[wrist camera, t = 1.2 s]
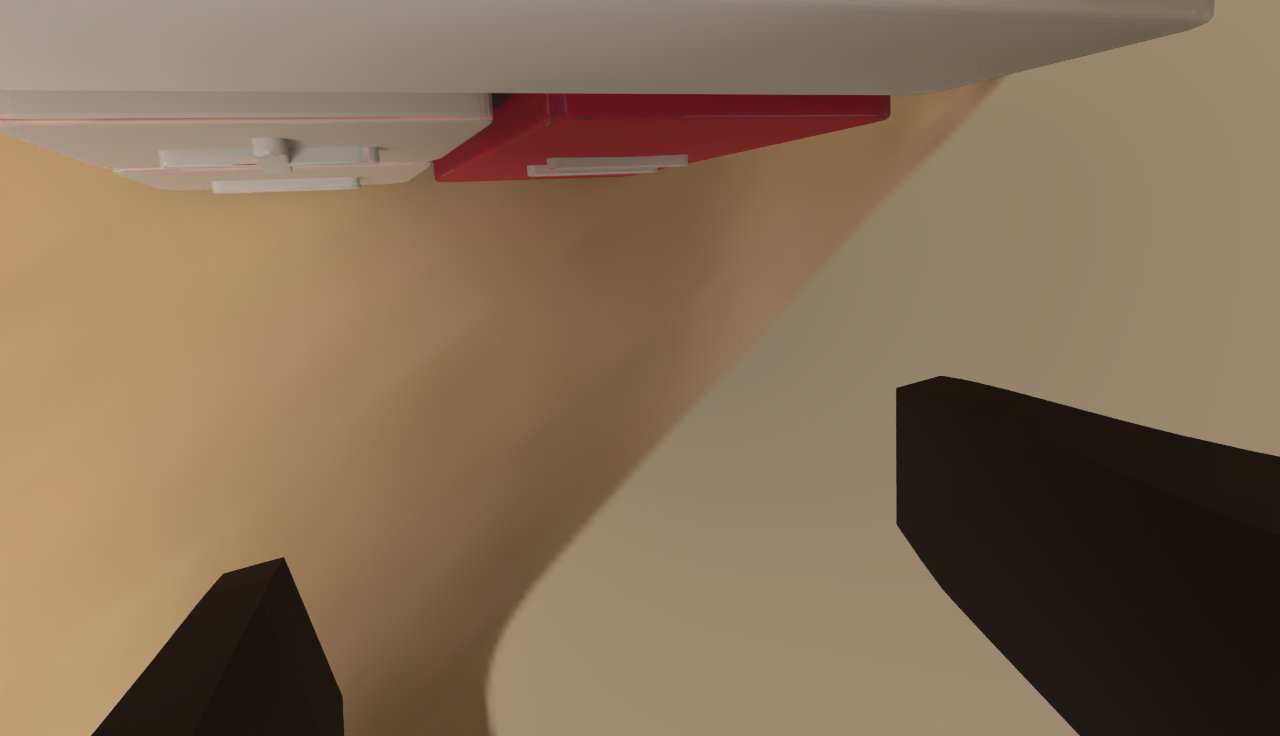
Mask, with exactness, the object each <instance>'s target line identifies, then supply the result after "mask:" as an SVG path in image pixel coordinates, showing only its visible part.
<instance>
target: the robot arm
mask: <svg viewBox="0 0 1280 736" xmlns="http://www.w3.org/2000/svg"><path fill="white" fill-rule="evenodd" d="M896 442H897V443H896V451H897V452H896V454H897V455H896V459H897V460H896V461H897V463H896V466H897V467H896V468H897V469H896V470H897V471H896V476H897V477H896V478H897V479H896V484H897V526H898V527H899V529H900V530H901V531H902V533H903V534H904V536H905V537H906V539H907V540H908V541H909V543H910V545H911V546H912V548H913V549H914V550H915V552H916V553H917V555H918V556H919V558H920V559H921V561H922V562H923V563H924V565H925V566H926V567H927V568H928V570H929V571H930V573H931V574H932V576H933V577H934V578H935V580H936V581H937V582H938V584H939V585H940V586H941V588H942V589H943V590H944V591H945V592H946V593H947V595H948V596H949V597H950V598H951V599H952V600H953V601H954V602H955V603H956V605H957V606H958V607H959V608H960V609H961V610H962V611H963V612H964V613H965V614H966V615H967V616H968V617H969V619H970V620H971V621H972V622H973V623H974V624H975V625H976V626H977V627H978V628H979V629H980V630H981V632H983V634H984V635H985V636H986V637H987V638H988V639H989V640H990V641H991V642H992V643H993V644H994V645H995V646H996V648H998V650H999V651H1000V652H1001V653H1002V654H1003V655H1004V656H1005V657H1006V658H1007V659H1008V660H1009V661H1010V662H1011V663H1012V664H1013V665H1014V666H1015V668H1016V669H1017V670H1018V671H1019V672H1020V673H1021V674H1022V675H1023V676H1024V677H1025V678H1026V679H1027V680H1028V681H1029V682H1030V683H1031V684H1032V686H1033V687H1034V688H1035V689H1036V690H1037V691H1038V692H1039V693H1040V694H1041V695H1042V696H1043V697H1044V698H1045V699H1046V700H1047V701H1048V702H1049V704H1050V705H1051V706H1052V707H1053V708H1054V709H1056V711H1057V712H1058V713H1059V714H1060V715H1061V716H1062V717H1063V718H1064V719H1065V720H1066V721H1067V723H1068V724H1069V725H1070V726H1071V727H1072V728H1073V729H1074V730H1075V731H1076V732H1077V733H1078V734H1079V735H1080V736H1280V457H1278V456H1274V455H1269V454H1263V453H1258V452H1254V451H1248V450H1244V449H1240V448H1235V447H1231V446H1226V445H1222V444H1217V443H1213V442H1209V441H1204V440H1200V439H1195V438H1191V437H1186V436H1182V435H1178V434H1174V433H1170V432H1166V431H1161V430H1157V429H1153V428H1150V427H1145V426H1142V425H1137V424H1134V423H1130V422H1126V421H1122V420H1118V419H1114V418H1111V417H1107V416H1103V415H1099V414H1095V413H1092V412H1088V411H1084V410H1080V409H1077V408H1073V407H1069V406H1066V405H1062V404H1058V403H1054V402H1051V401H1047V400H1043V399H1039V398H1036V397H1032V396H1028V395H1025V394H1021V393H1017V392H1013V391H1010V390H1006V389H1002V388H997V387H994V386H990V385H985V384H981V383H977V382H972V381H968V380H963V379H957V378H951V377H945V376H938V377H935V378H931V379H927V380H924V381H920V382H917V383H913V384H909V385H906V386H902V387H899V388H896ZM91 736H344V721H343V699H342V695H341V692H340V690H339V688H338V685H337V683H336V680H335V678H334V676H333V673H332V671H331V668H330V666H329V664H328V661H327V659H326V656H325V654H324V652H323V649H322V647H321V644H320V642H319V640H318V637H317V635H316V633H315V630H314V628H313V625H312V623H311V621H310V618H309V616H308V613H307V611H306V609H305V606H304V604H303V601H302V599H301V597H300V594H299V592H298V589H297V587H296V585H295V582H294V580H293V578H292V575H291V573H290V570H289V568H288V566H287V563H286V561H285V558H284V557H282V558H279V559H275V560H271V561H268V562H264V563H260V564H257V565H253V566H250V567H246V568H242V569H239V570H235V571H231V572H228V573H224V574H223V575H222V576H221V577H220V578H219V579H218V580H217V581H216V583H215V584H214V585H213V586H212V587H211V588H210V589H209V591H208V592H207V593H206V594H205V595H204V597H203V598H202V599H201V600H200V602H199V603H198V604H197V605H196V606H195V608H194V609H193V610H192V611H191V613H190V614H189V615H188V616H187V618H186V619H185V620H184V621H183V623H182V624H181V625H180V627H179V628H178V629H177V630H176V632H175V633H174V634H173V635H172V637H171V638H170V639H169V640H168V642H167V643H166V644H165V645H164V647H163V648H162V649H161V650H160V652H159V653H158V654H157V655H156V657H155V658H154V659H153V661H152V662H151V663H150V664H149V665H148V667H147V668H146V669H145V670H144V672H143V673H142V674H141V675H140V676H139V678H138V679H137V680H136V681H135V683H134V684H133V685H132V686H131V688H130V689H129V690H128V691H127V692H126V694H125V695H124V696H123V697H122V699H121V700H120V701H119V702H118V704H117V705H116V706H115V707H114V708H113V710H112V711H111V712H110V713H109V715H108V716H107V717H106V718H105V720H104V721H103V722H102V723H101V724H100V726H99V727H98V728H97V729H96V730H95V732H94V733H93V734H92V735H91Z"/></svg>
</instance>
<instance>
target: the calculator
mask: <svg viewBox="0 0 1280 736" xmlns="http://www.w3.org/2000/svg"><path fill="white" fill-rule="evenodd" d="M1213 10H1214V0H0V133H2V134H4V135H7V136H10V137H13V138H16V139H19V140H22V141H25V142H27V143H30V144H33V145H36V146H39V147H42V148H45V149H47V150H50V151H53V152H56V153H59V154H62V155H65V156H67V157H70V158H73V159H76V160H79V161H82V162H85V163H88V164H90V165H93V166H97V167H104V168H112V169H113V171H114V172H115V173H116V174H119V175H122V176H125V177H128V178H131V179H133V180H136V181H139V182H142V183H145V184H148V185H151V186H153V187H156V188H159V189H162V190H170V191H187V190H212V192H213V193H215V194H230V193H259V192H289V191H318V190H347V189H359V188H361V186H360V185H372V184H397V183H404V182H408V181H409V180H411V179H412V178H413V177H415V176H416V175H418V174H419V173H421V172H422V171H423V170H425V169H426V168H428V167H429V166H431V165H432V160H433V163H434V173H435V180H436V181H438V182H466V181H497V180H527V179H558V178H588V177H618V176H631V175H636V174H641V173H654V172H658V170H659V169H664V168H668V167H681V166H687V165H688V163H691V162H696V161H701V160H705V159H710V158H714V157H719V156H724V155H728V154H733V153H737V152H742V151H746V150H751V149H756V148H760V147H765V146H769V145H774V144H779V143H783V142H788V141H792V140H797V139H802V138H806V137H811V136H815V135H820V134H824V133H829V132H834V131H838V130H843V129H847V128H852V127H857V126H861V125H866V124H870V123H874V122H878V121H882V120H885V119H887V118H889V116H890V95H921V94H928V93H934V92H939V91H943V90H947V89H951V88H956V87H960V86H964V85H968V84H972V83H976V82H980V81H984V80H988V79H992V78H996V77H1000V76H1004V75H1008V74H1013V73H1017V72H1020V71H1024V70H1029V69H1032V68H1037V67H1041V66H1045V65H1049V64H1053V63H1057V62H1061V61H1065V60H1070V59H1074V58H1078V57H1082V56H1086V55H1090V54H1094V53H1098V52H1102V51H1106V50H1110V49H1114V48H1118V47H1122V46H1126V45H1131V44H1135V43H1139V42H1143V41H1147V40H1151V39H1155V38H1159V37H1163V36H1167V35H1171V34H1175V33H1180V32H1184V31H1188V30H1191V29H1193V28H1196V27H1198V26H1200V25H1203V24H1205V23H1208V22H1209V20H1210V19H1211V18H1212V17H1213Z"/></svg>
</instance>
